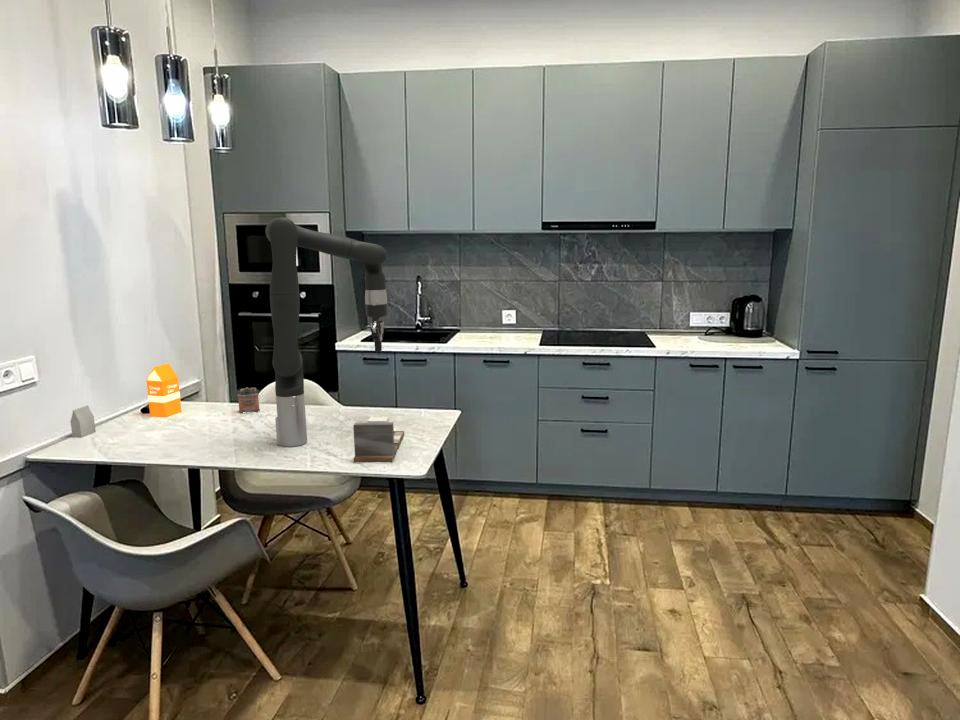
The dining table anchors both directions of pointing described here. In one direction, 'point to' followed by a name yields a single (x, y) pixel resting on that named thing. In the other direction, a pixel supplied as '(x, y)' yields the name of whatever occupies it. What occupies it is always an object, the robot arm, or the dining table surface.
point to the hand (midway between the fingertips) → (378, 351)
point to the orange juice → (163, 392)
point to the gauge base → (376, 441)
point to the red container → (248, 400)
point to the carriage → (379, 420)
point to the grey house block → (82, 422)
